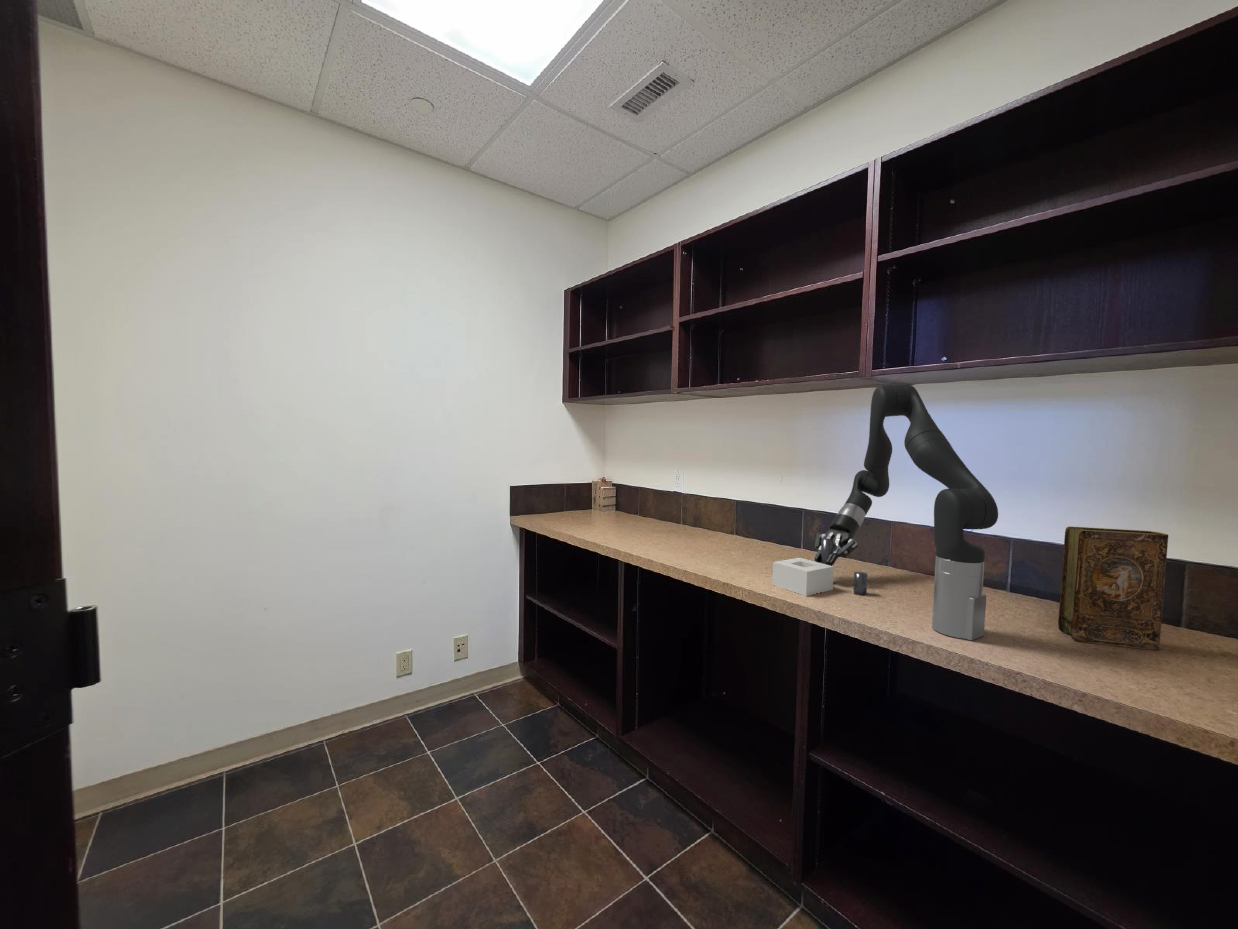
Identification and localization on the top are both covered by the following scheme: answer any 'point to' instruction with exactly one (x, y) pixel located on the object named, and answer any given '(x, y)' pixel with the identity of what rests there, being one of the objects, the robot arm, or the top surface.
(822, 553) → the long pin
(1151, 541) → the book
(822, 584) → the hole block
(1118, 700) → the top surface
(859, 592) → the short pin
